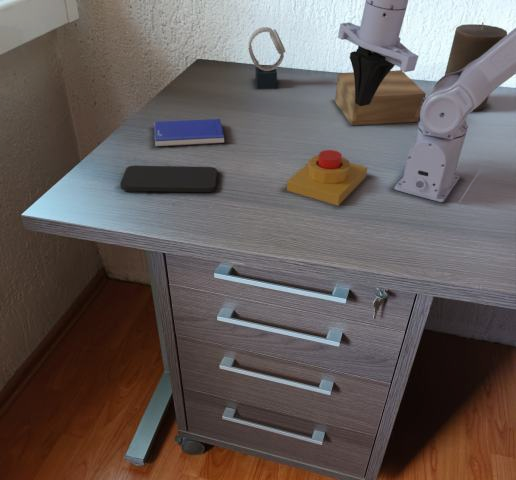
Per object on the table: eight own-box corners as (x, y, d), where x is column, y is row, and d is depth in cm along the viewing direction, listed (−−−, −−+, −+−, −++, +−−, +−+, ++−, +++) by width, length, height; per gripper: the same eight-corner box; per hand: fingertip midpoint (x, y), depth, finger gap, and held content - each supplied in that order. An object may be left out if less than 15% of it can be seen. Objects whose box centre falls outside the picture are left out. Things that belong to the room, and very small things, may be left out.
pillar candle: (467, 116, 106) (491, 32, 96) (428, 101, 111) (447, 20, 101) (495, 104, 110) (520, 23, 100) (456, 91, 116) (477, 13, 105)
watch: (285, 88, 117) (287, 32, 109) (249, 88, 116) (249, 32, 108) (282, 79, 121) (284, 24, 113) (247, 80, 120) (247, 25, 112)
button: (334, 172, 81) (335, 162, 80) (313, 167, 83) (314, 156, 81) (344, 163, 84) (345, 153, 82) (323, 158, 85) (324, 148, 84)
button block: (338, 205, 80) (340, 184, 78) (286, 190, 84) (287, 169, 81) (366, 177, 87) (369, 156, 85) (317, 164, 90) (319, 144, 88)
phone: (214, 188, 82) (118, 186, 82) (214, 193, 83) (119, 191, 82) (217, 166, 87) (127, 165, 87) (217, 171, 88) (128, 169, 88)
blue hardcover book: (154, 138, 93) (223, 135, 95) (154, 120, 99) (219, 117, 100) (155, 147, 94) (224, 143, 96) (155, 128, 100) (220, 125, 102)
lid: (425, 97, 100) (426, 93, 99) (356, 101, 98) (356, 97, 98) (400, 74, 109) (401, 70, 109) (337, 77, 108) (337, 73, 107)
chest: (417, 121, 104) (423, 96, 100) (351, 125, 102) (354, 99, 99) (396, 98, 113) (400, 74, 109) (334, 101, 111) (337, 77, 108)
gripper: (444, 17, 70) (413, 118, 80) (371, -13, 78) (350, 82, 88) (408, 22, 67) (380, 126, 77) (335, -10, 75) (318, 88, 85)
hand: (362, 103), depth 82 cm, fingers closed
